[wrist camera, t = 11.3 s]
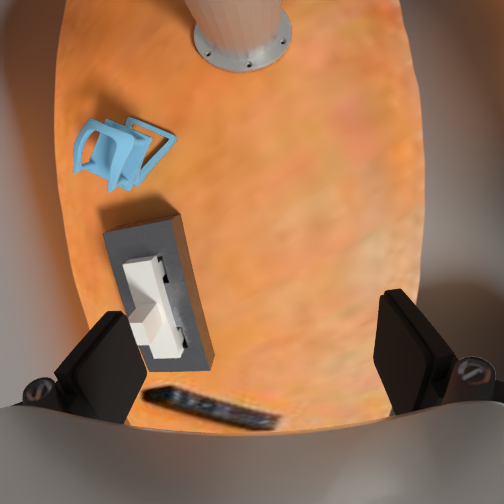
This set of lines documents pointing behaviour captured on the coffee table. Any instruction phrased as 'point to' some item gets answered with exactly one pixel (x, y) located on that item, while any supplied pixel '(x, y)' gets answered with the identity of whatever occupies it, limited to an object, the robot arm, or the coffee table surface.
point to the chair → (119, 152)
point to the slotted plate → (176, 285)
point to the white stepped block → (152, 308)
